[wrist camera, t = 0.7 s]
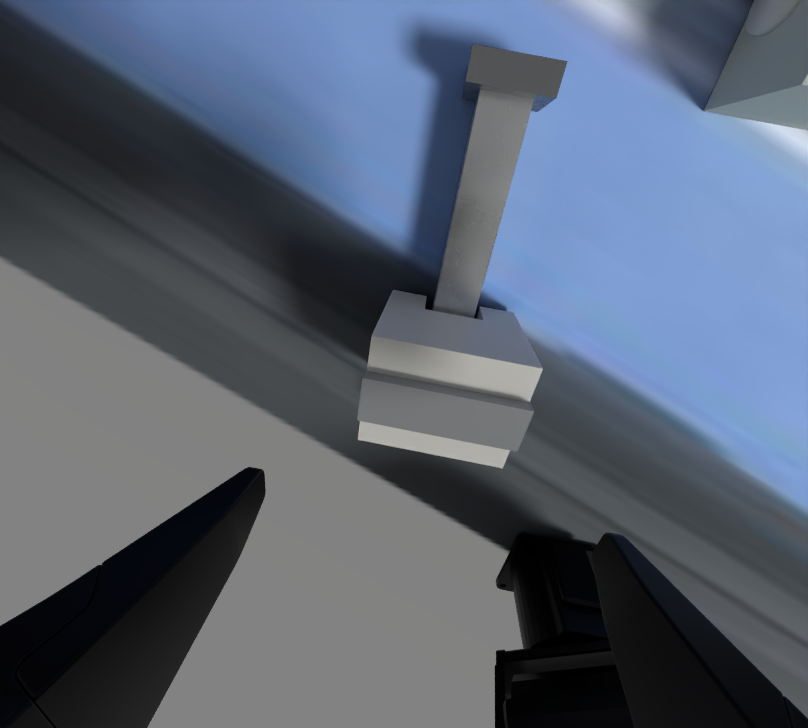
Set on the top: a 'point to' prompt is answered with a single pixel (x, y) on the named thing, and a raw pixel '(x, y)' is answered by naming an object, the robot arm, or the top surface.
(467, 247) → the rail
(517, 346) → the carriage
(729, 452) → the top surface
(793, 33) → the cabinet
